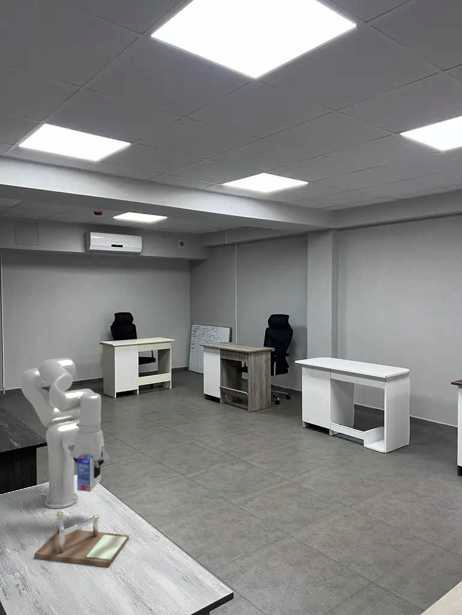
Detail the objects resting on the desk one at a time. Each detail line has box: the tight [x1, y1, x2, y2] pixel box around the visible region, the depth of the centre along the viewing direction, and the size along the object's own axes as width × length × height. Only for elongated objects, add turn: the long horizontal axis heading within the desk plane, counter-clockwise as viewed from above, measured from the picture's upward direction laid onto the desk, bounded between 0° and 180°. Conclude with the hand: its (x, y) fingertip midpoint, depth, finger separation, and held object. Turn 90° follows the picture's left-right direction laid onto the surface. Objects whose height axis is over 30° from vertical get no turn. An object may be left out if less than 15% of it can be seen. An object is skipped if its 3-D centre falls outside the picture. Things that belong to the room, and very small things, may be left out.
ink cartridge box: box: [76, 456, 102, 493], centre depth 169 cm, size 10×6×14 cm, turn 174°
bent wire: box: [56, 511, 99, 553], centre depth 152 cm, size 15×13×7 cm
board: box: [34, 527, 130, 568], centre depth 151 cm, size 25×16×2 cm, turn 81°
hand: (89, 475), depth 170 cm, fingers closed on ink cartridge box, 5 cm apart
